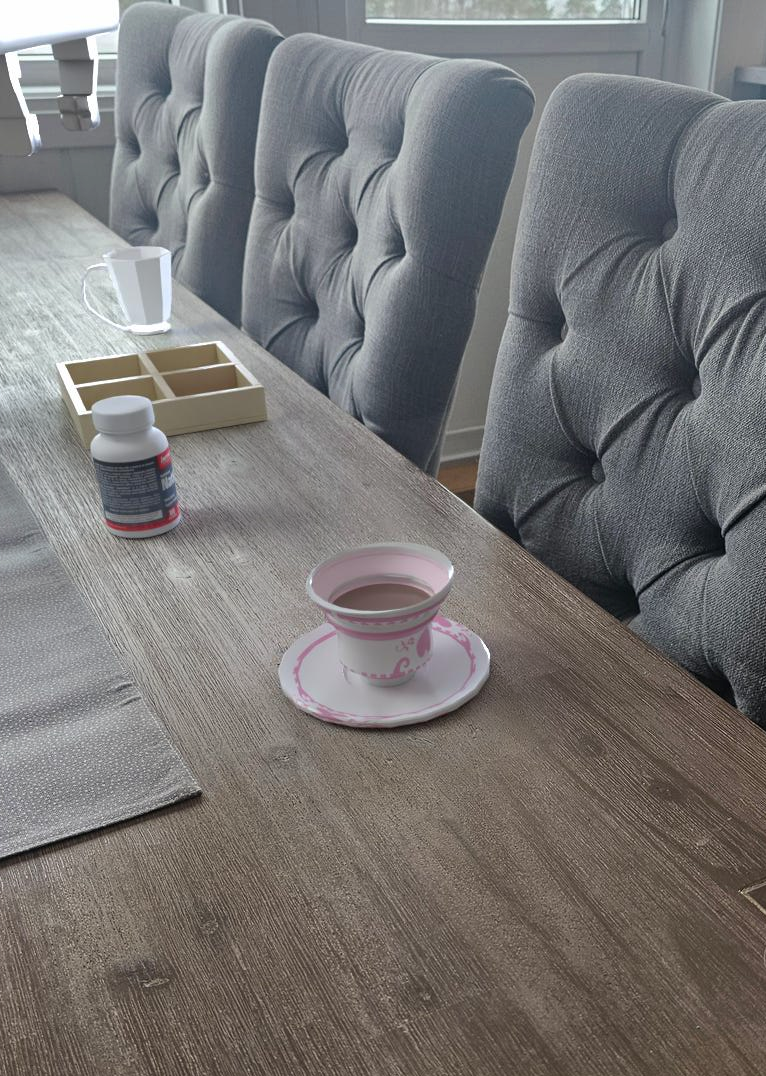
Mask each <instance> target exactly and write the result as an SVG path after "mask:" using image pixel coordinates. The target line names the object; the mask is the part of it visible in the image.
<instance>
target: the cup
mask: <svg viewBox="0 0 766 1076" xmlns="http://www.w3.org/2000/svg"><path fill="white" fill-rule="evenodd" d="M102 257H103V261H104V263H98V264H94V265H91V266H89V267H88V268H87V269H86V271H85V272H84V274H83V276H82V278H81V285H80V294H81V302H82V303H83V305H84V307H85V309H86V311H88V312H89V314H91V316H93V317H94V318H95V319H97V320H99V321H100V322H102V323H104V324H105V325H107V326H109V327H111V328H112V329H115V330H118V331H121V332H124V333H125V332H126V333H132V334H133V335H136V336H137V335H138V336H153V335H158V334H164V333H166V332H167V331H170V330H171V329H172V328H171V327H172V326H171V324H170V323H168V322H167V321H168V320H169V319H170V318H171V311H172V301H173V300H172V298H173V295H172V291H173V290H172V289H173V288H172V252H171V250H168V249H166V248H165V247H163V246H146V245H139V246H132V247H124V248H116V249H113V250H112V251H110V252H108V253H106V254H104V255H102ZM93 271H100V272H106V273H108V275H109V277H110V280H111V283H112V287H113V289H114V292H115V296H116V299H117V301H118V303H119V306H120V308H121V310H122V312H123V315H124V317H125V319H126V321H128V322H129V323H130V324H132V325H131V326H124V325H120V324H118V323H115V322H114V321H111V320H109V318H106V317H105V316H103V315H101V314H100V313H98V312H97V311H96V310H95V309H93V308H92V307H91V306H90V303H89V302H88V300H87V297H86V279H87V277H88V276H89V274H90V273H91V272H93Z"/></svg>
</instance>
